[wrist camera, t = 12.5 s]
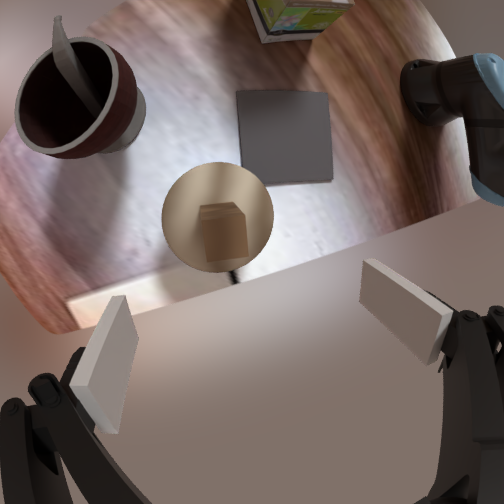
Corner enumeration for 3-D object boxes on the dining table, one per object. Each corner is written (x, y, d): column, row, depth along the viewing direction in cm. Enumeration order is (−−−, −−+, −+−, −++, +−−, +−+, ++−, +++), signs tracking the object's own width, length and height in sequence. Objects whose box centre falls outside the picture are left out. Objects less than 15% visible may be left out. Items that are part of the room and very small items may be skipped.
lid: (268, 157, 33) (294, 156, 24) (274, 261, 38) (299, 294, 29) (155, 170, 31) (139, 173, 22) (172, 276, 36) (165, 315, 27)
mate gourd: (154, 149, 38) (117, 138, 19) (73, 166, 35) (-2, 177, 17) (149, 58, 32) (121, -7, 14) (70, 79, 30) (5, 41, 12)
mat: (326, 93, 39) (327, 92, 39) (332, 179, 44) (333, 179, 44) (236, 91, 37) (236, 91, 36) (244, 185, 42) (244, 185, 41)
